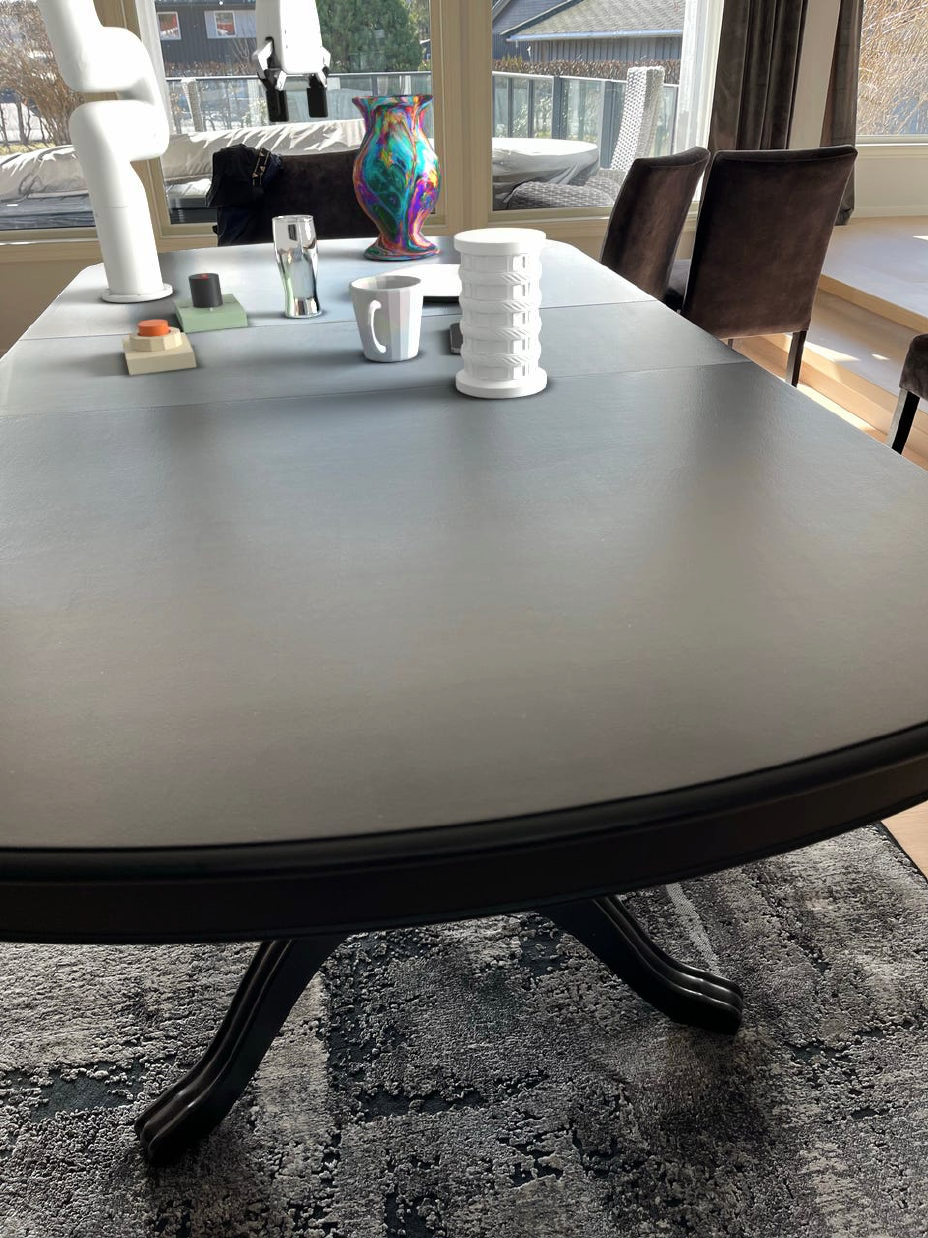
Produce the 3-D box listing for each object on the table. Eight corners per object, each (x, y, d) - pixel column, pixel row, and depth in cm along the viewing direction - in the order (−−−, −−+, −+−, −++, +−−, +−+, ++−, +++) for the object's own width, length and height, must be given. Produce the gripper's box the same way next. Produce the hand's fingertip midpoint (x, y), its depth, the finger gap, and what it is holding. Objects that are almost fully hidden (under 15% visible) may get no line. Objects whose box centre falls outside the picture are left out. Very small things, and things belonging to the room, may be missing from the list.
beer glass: (316, 319, 155) (305, 221, 147) (276, 318, 156) (263, 221, 148) (329, 309, 160) (320, 214, 153) (291, 308, 162) (280, 214, 154)
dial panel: (175, 314, 161) (172, 298, 159) (234, 308, 163) (232, 292, 162) (184, 333, 149) (181, 315, 148) (247, 325, 152) (245, 309, 151)
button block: (125, 354, 139) (119, 326, 137) (187, 346, 142) (182, 319, 140) (129, 375, 129) (123, 346, 127) (196, 367, 132) (191, 338, 130)
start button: (139, 333, 135) (136, 321, 134) (168, 330, 136) (165, 318, 135) (141, 340, 132) (138, 327, 131) (170, 336, 133) (168, 324, 132)
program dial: (191, 302, 156) (186, 272, 154) (220, 299, 158) (216, 269, 155) (194, 308, 152) (189, 277, 150) (224, 305, 154) (220, 274, 151)
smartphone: (451, 349, 133) (449, 322, 146) (451, 354, 134) (449, 327, 147) (505, 347, 133) (499, 320, 146) (505, 352, 134) (499, 325, 147)
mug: (435, 346, 138) (432, 274, 133) (409, 375, 126) (404, 298, 120) (366, 344, 140) (361, 273, 135) (334, 373, 127) (327, 296, 122)
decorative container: (438, 390, 119) (432, 239, 110) (485, 367, 128) (482, 225, 119) (518, 403, 114) (518, 245, 105) (561, 378, 122) (565, 230, 113)
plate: (341, 301, 165) (340, 289, 164) (406, 271, 187) (405, 261, 186) (484, 310, 156) (483, 298, 155) (535, 278, 178) (535, 267, 177)
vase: (457, 249, 207) (453, 93, 192) (420, 264, 193) (412, 97, 178) (384, 245, 214) (374, 94, 198) (343, 260, 200) (328, 98, 184)
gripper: (299, -15, 139) (313, 116, 148) (223, -21, 126) (242, 123, 135) (342, -19, 136) (353, 115, 145) (267, -25, 123) (284, 123, 132)
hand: (299, 119), depth 140 cm, fingers open, 9 cm apart
